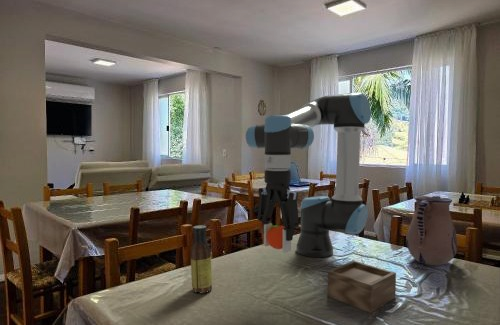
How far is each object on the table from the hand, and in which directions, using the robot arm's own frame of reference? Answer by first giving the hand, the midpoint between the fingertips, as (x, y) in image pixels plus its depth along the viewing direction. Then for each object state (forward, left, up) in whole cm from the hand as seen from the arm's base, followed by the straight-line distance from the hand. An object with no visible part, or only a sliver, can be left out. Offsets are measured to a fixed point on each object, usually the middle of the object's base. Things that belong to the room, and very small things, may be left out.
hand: (277, 248), depth 101 cm
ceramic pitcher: (+17, +65, -15) cm, 69 cm away
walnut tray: (+16, +20, -15) cm, 29 cm away
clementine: (0, 0, 0) cm, 1 cm away
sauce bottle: (-19, -13, -15) cm, 28 cm away
